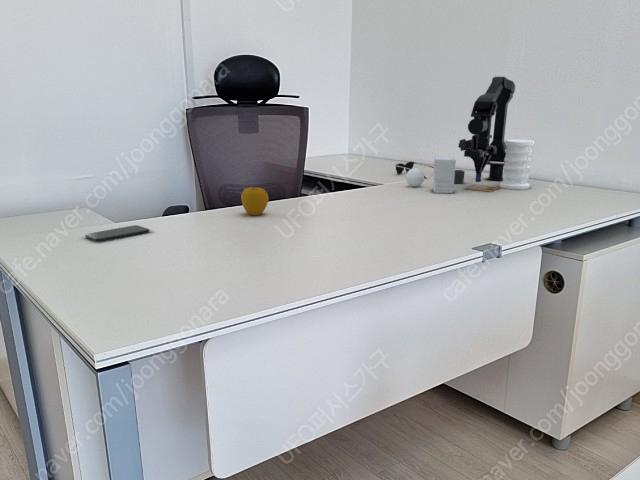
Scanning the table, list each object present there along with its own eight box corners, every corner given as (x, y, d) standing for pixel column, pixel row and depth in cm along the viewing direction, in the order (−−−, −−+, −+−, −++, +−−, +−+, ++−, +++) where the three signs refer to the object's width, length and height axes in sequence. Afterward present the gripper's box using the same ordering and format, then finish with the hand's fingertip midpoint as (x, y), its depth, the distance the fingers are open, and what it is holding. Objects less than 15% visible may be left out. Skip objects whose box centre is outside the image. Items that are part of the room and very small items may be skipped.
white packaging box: (451, 189, 232) (454, 157, 227) (453, 193, 225) (456, 159, 220) (432, 189, 232) (434, 156, 228) (433, 193, 225) (436, 159, 221)
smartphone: (136, 227, 173) (83, 237, 162) (136, 224, 172) (83, 233, 162) (151, 232, 167) (97, 242, 157) (150, 229, 167) (97, 239, 156)
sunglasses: (412, 171, 275) (413, 161, 273) (441, 177, 265) (442, 166, 263) (394, 175, 266) (395, 163, 264) (423, 181, 256) (425, 169, 254)
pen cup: (454, 181, 250) (455, 169, 248) (465, 182, 248) (466, 170, 246) (449, 183, 247) (450, 171, 245) (460, 184, 244) (461, 172, 242)
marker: (476, 180, 234) (478, 157, 231) (481, 181, 233) (483, 158, 230) (474, 181, 233) (476, 158, 230) (479, 182, 232) (481, 158, 229)
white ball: (427, 187, 238) (428, 168, 235) (413, 188, 234) (414, 169, 231) (411, 183, 246) (412, 165, 243) (397, 185, 242) (398, 166, 239)
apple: (271, 212, 193) (270, 184, 190) (264, 217, 185) (264, 189, 182) (246, 211, 194) (245, 184, 191) (238, 216, 187) (237, 188, 183)
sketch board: (475, 185, 241) (475, 184, 241) (499, 188, 235) (499, 187, 235) (465, 189, 233) (465, 188, 233) (489, 191, 228) (489, 190, 228)
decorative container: (518, 183, 245) (524, 139, 239) (535, 188, 235) (541, 141, 228) (494, 185, 242) (498, 139, 236) (509, 189, 232) (515, 142, 225)
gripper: (472, 129, 238) (468, 169, 243) (452, 133, 224) (449, 174, 229) (499, 131, 232) (495, 171, 237) (481, 134, 218) (477, 177, 223)
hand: (478, 173), depth 232 cm, fingers closed on marker, 2 cm apart
